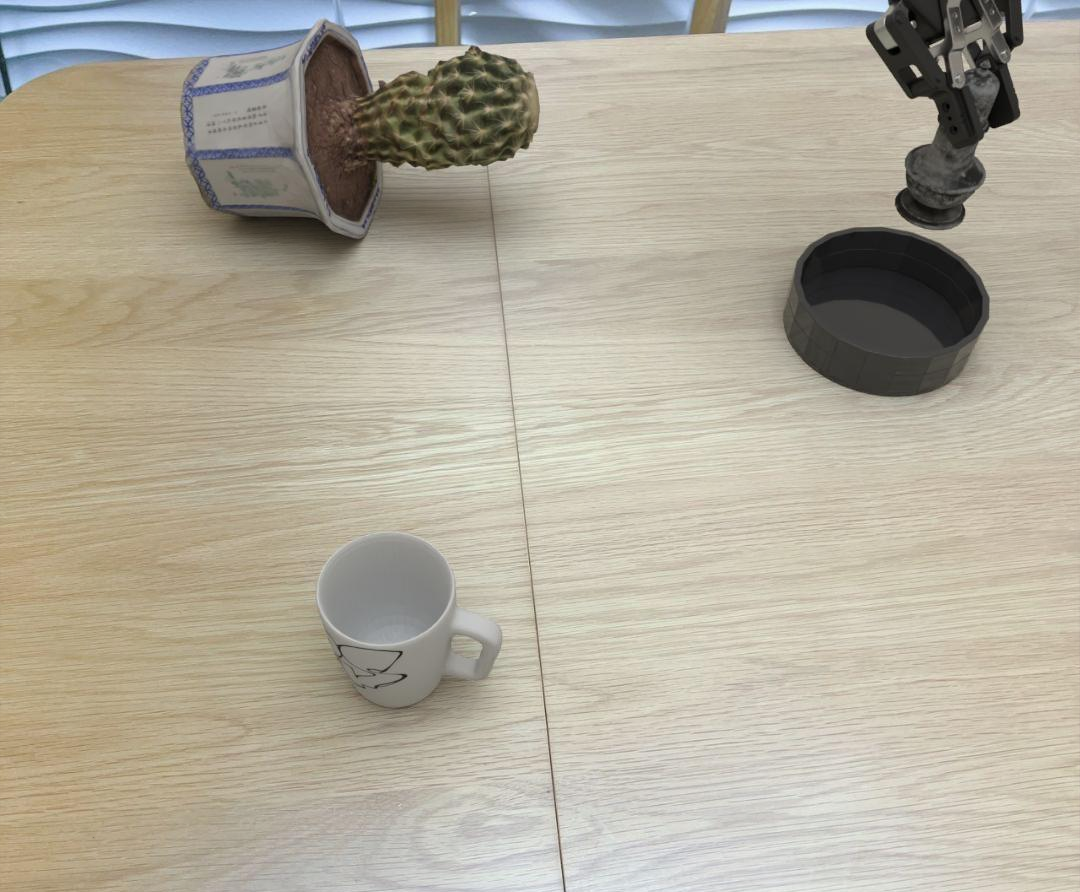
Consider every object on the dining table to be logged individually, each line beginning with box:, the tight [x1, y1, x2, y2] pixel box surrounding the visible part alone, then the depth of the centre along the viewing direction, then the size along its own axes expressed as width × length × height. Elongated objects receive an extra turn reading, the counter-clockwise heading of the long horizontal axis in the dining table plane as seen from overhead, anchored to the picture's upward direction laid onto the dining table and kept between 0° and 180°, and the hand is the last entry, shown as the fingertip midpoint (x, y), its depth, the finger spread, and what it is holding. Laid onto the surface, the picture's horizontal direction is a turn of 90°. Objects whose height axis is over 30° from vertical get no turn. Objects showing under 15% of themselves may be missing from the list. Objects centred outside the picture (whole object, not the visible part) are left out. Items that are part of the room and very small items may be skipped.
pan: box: [782, 226, 991, 397], centre depth 93 cm, size 16×16×4 cm
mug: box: [315, 531, 503, 708], centre depth 70 cm, size 11×8×10 cm
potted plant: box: [179, 17, 541, 240], centre depth 95 cm, size 18×18×30 cm
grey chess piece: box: [894, 59, 1000, 231], centre depth 78 cm, size 6×6×12 cm
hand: (987, 132), depth 76 cm, fingers closed on grey chess piece, 3 cm apart
